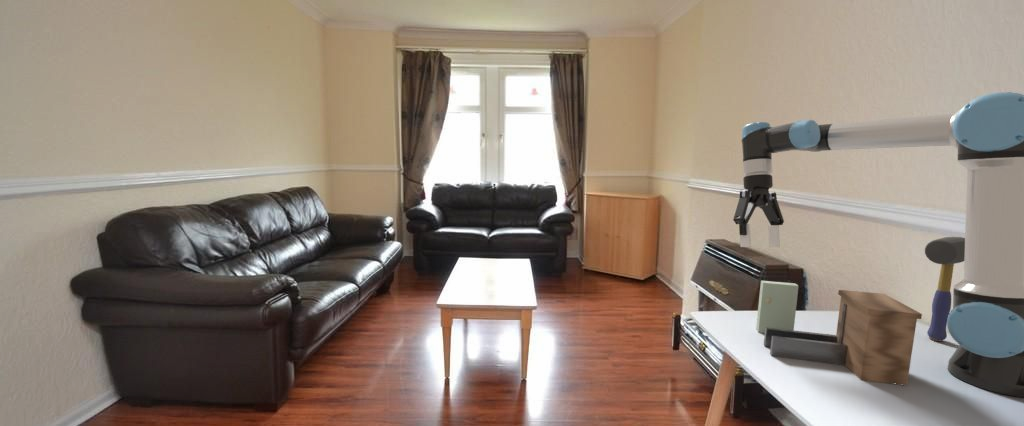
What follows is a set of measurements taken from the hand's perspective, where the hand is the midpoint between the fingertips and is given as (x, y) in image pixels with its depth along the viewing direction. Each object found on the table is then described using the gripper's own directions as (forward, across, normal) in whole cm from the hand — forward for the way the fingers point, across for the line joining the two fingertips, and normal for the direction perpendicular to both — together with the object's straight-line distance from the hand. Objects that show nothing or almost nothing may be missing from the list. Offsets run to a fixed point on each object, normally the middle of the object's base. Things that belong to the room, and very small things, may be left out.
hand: (760, 247), depth 129 cm
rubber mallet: (+27, -43, +24) cm, 55 cm away
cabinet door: (+25, -4, 0) cm, 25 cm away
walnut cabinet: (+30, -4, +24) cm, 38 cm away
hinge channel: (+28, +3, +12) cm, 31 cm away
